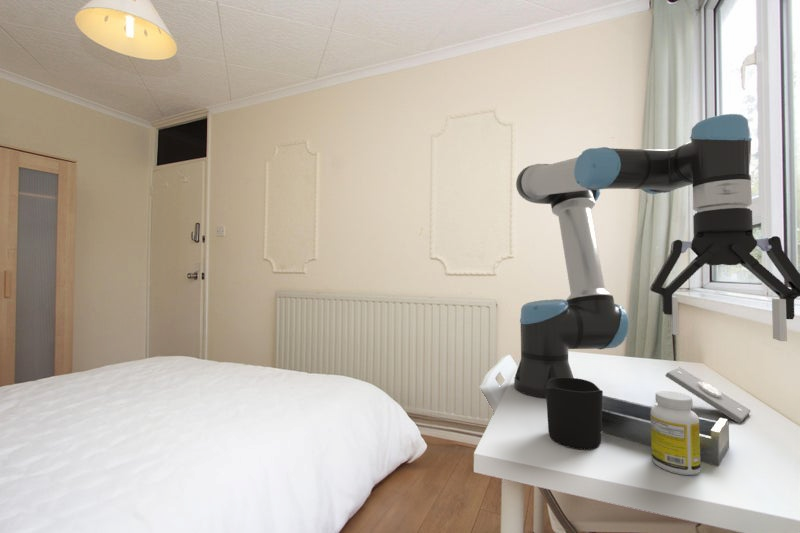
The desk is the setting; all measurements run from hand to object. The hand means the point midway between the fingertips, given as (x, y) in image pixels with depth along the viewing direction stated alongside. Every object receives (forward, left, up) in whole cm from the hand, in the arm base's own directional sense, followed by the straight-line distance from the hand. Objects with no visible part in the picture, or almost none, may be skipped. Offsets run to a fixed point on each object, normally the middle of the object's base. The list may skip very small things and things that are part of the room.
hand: (724, 336), depth 62 cm
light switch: (-7, +25, -20) cm, 32 cm away
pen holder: (-20, -13, -20) cm, 31 cm away
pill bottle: (-5, -10, -20) cm, 23 cm away
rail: (-11, 0, -20) cm, 22 cm away
